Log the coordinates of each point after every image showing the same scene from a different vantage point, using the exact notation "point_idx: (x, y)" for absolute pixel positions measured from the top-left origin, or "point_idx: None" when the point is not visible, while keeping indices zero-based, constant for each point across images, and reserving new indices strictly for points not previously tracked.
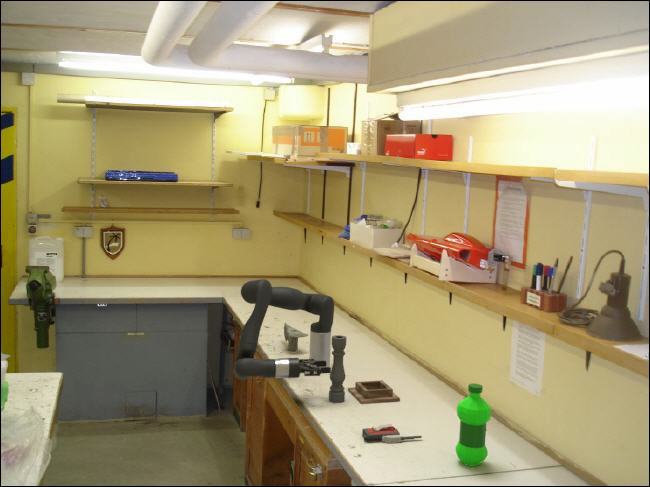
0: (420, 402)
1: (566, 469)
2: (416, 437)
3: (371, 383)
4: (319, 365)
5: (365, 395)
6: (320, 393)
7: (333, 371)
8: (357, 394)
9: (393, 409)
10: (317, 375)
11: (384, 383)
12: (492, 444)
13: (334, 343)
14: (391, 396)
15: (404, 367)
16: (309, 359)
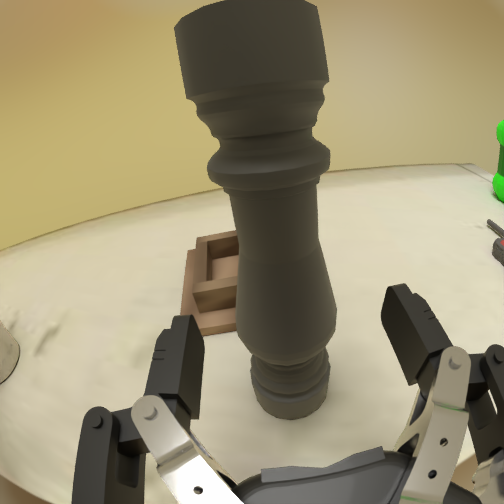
0: None
1: (462, 164)
2: (496, 224)
3: (207, 260)
4: (195, 391)
5: None
6: None
7: (317, 306)
8: None
9: (357, 248)
10: (483, 395)
11: (225, 234)
12: (445, 181)
13: (311, 50)
14: None
15: (93, 231)
16: (94, 455)
